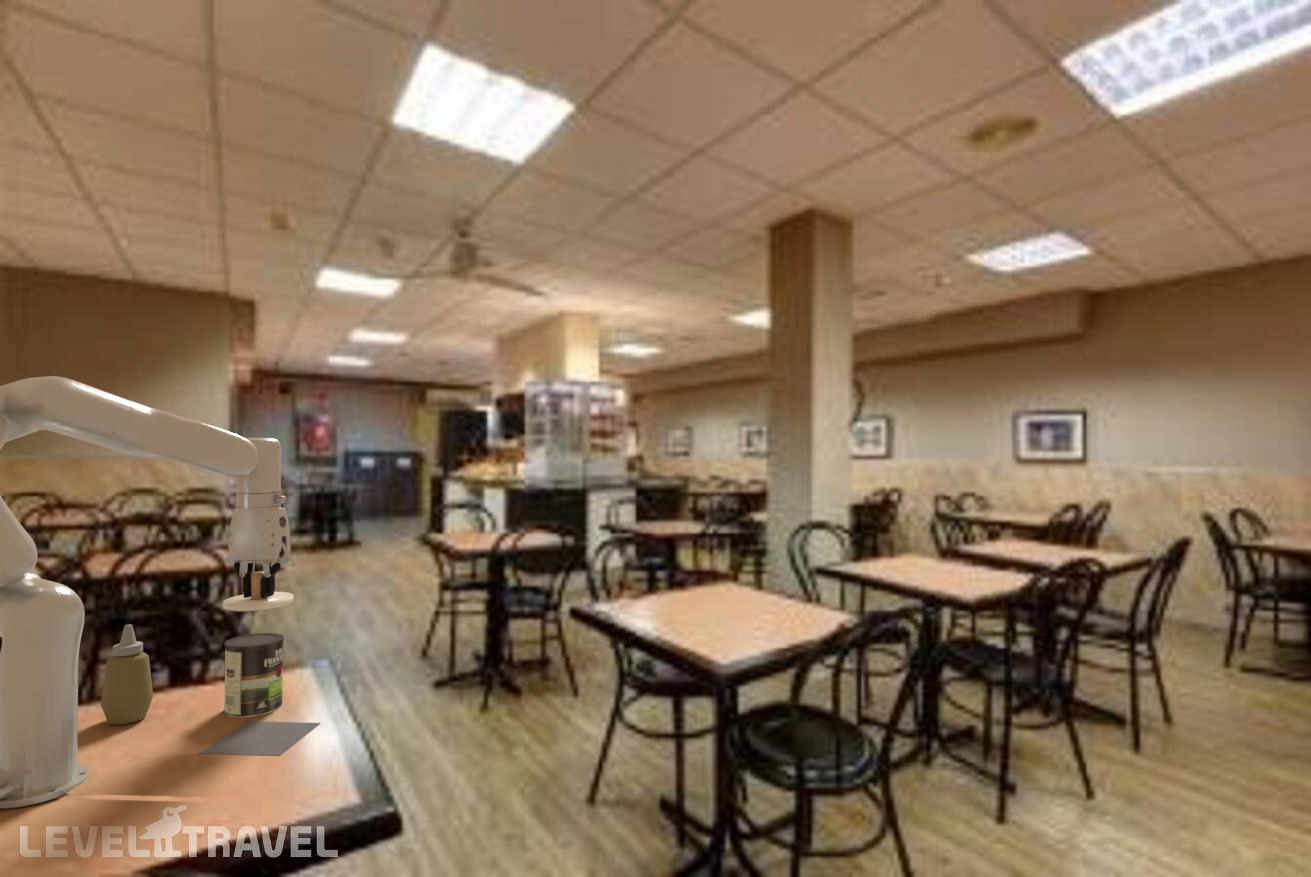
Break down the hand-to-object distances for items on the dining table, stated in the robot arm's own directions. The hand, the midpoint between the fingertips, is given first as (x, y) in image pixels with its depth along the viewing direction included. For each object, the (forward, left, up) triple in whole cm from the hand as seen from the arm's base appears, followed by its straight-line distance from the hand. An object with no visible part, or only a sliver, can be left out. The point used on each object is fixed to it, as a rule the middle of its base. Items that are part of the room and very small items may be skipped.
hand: (258, 595), depth 139 cm
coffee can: (+3, +3, -24) cm, 24 cm away
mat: (-11, -7, -23) cm, 27 cm away
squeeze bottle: (-3, +24, -24) cm, 34 cm away
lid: (0, 0, -2) cm, 2 cm away
